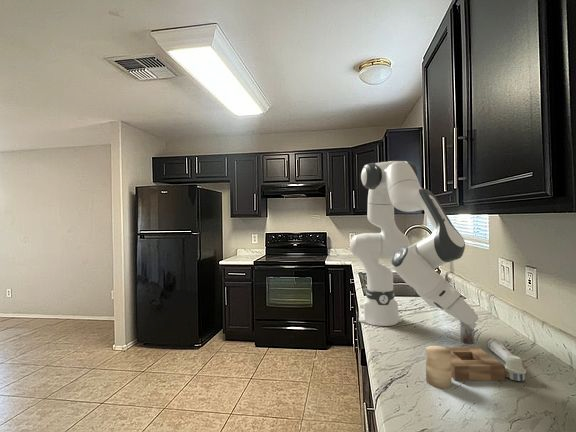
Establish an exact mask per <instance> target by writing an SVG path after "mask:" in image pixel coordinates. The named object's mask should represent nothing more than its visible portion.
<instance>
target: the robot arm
mask: <svg viewBox="0 0 576 432" xmlns="http://www.w3.org/2000/svg"><path fill="white" fill-rule="evenodd" d="M418 178H419V172H418V167H417V165H416V163H414V162H411V161H406V160H390V161H380V162H371V163H367V164H366V163H365V164H364V166H363V167H362V169H361V173H360V180H361V183H362V186H363V187H364V188H365V189H366V190H367V189H368V194H367V210H366V211H367V214H366V215H367V216H366V217H367V221H368V222H369V223H370V224H371V225H373V226H375V227H378V228H380V232H368V233H367V232H364V233H358V234H355V235H353V236H352V238H351V239H350V242H349V249H350V251H351V254H352V255H353V256H355V258H357V259H358V260H359V261H360V262H361V263H362V265H363V266H364V267H363V268H364V269H365V274H366V287H367V288H366V291H365V299H364V301H363V303H360V304H359V309H360V310H358V321H359V322H360V323H365V324H368V325H373V326H378V327H379V326H380V327H389V326H390V327H391V326H394V325H397V324H398V323H401V322H403V318H401V317H400V316H399V303H398V302H397V301H396V300H395V289H394V273H393V271H392V269H390V267H389V268H388V267H387V266H385V265H383V264H381V263H380V262H379V259H391V265H392V267H393V269H394V271H395V273H397V275H398V276H399V277H400V278H401V279H402V280H403V281H404V283H406V285H408V286H409V287H411V288H413V289H414V291H415V292H416V294H417V295H418V296H419V297H420V298H421V299H422V300H423V301H424V302H425V303H426V304H427V305H428V306H430V307H434V308H435V307H436V308H438V309H440V310H441V311H444V313H447V314H448V315H450V316H451V317H454V318H455V319H457V320H458V321H459V322H460V321H462V322H463V323H465V324H467V325H468V326H469V327H470V328H472V329H474V330H475V328H476V327H477V323H476V322H477V321H478V320H479V316H478V314H477V312H475V309H474V308H472V307H471V306H470V305H469V304H468V303H467V301H466V300H465V299H463V297H461V295H462V294H461V292H459V290H458V289H456V288H455V287H454V286H452V285H451V284H450V282H449V281H447V280H446V279H445V278H444V277H443V275H441V274H440V273H438V272H437V271H435V270H436V269H437V268H439V267H441V266H443V265H445V264H447V263H451V262H454V261H457V260H459V259H461V258H462V257H463V255H464V253H465V248H466V242H465V240H464V238H463V236H462V235H461V233H460V232H459V231H458V230H457V228H455V225H453V224H452V222H451V219H450V218H449V216H448V215H447V213H446V212H445V210H444V208H443V207H442V205H441V203H440V201H439V200H438V199H437V197H436V196H435V194H433V193H432V191H430V190H429V189H426V188H423V187H421V184H420V181H419V179H418ZM395 209H397V210H399V211H401V212H406V213H412V212H417V211H424V212H425V213H424V214H426V217H427V218H428V220H429V222H430V224H431V226H432V227H433V230H432V232H431V234H429V235H428V236H425V237H424V238H422V239H420V240H418V241H416V242H415V243H412V244H411V243H410V242H411V241H410V239H409V238H408V236H407V235H406V234H404V233H403V232H402V231H401V230H400V229H399V228H398V226H397V224H396V221H395ZM473 309H474V310H473Z"/></svg>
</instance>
